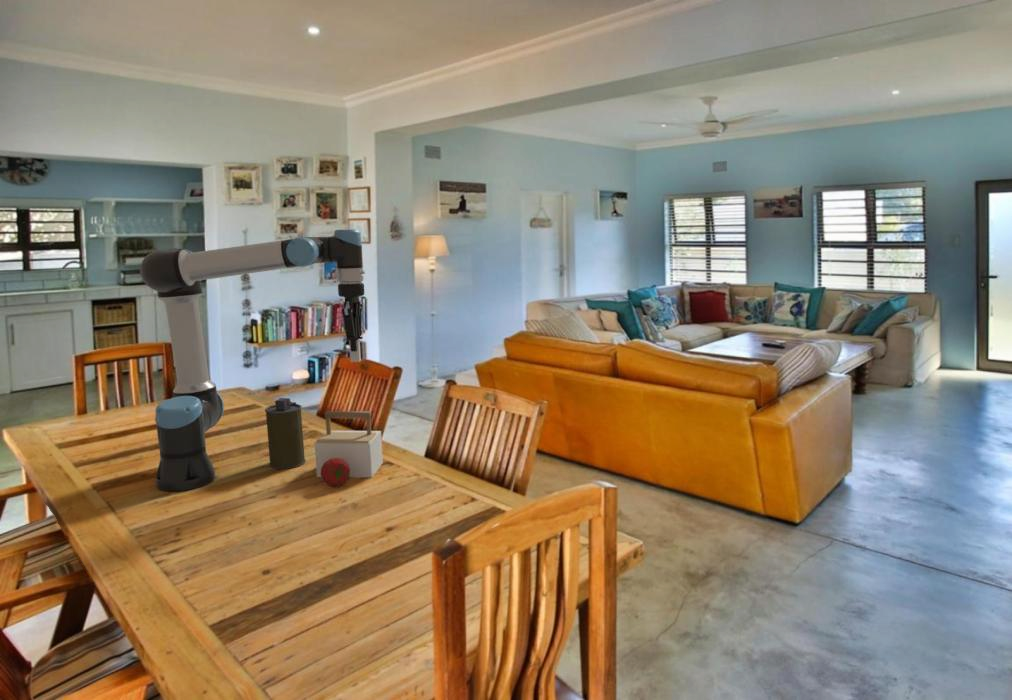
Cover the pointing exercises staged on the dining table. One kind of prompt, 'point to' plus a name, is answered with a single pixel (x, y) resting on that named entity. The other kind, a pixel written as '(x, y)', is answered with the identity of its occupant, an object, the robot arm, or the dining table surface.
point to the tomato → (335, 472)
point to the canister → (285, 434)
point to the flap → (346, 436)
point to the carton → (352, 455)
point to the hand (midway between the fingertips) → (355, 361)
